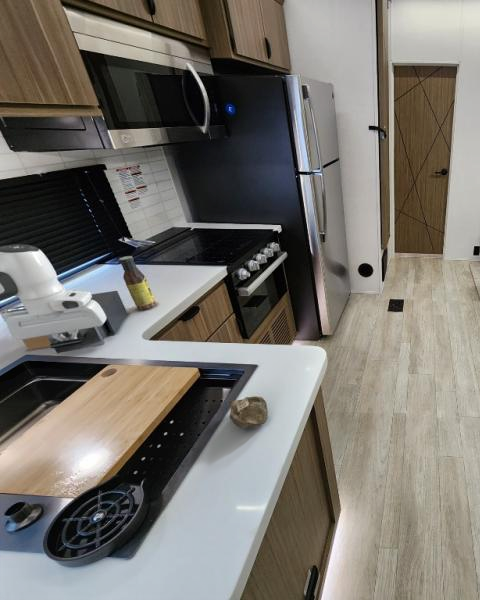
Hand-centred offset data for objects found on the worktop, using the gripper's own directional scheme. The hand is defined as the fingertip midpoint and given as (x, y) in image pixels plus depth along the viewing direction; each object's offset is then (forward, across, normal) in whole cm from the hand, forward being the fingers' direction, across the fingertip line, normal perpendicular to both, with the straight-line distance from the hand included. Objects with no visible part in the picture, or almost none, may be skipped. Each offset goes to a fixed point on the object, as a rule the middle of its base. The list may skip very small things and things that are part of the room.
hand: (71, 343), depth 97 cm
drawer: (+4, 0, +7) cm, 8 cm away
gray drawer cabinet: (+5, 0, +17) cm, 18 cm away
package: (+5, -12, +12) cm, 18 cm away
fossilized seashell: (+5, +47, -47) cm, 67 cm away
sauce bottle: (+5, +12, +28) cm, 31 cm away
